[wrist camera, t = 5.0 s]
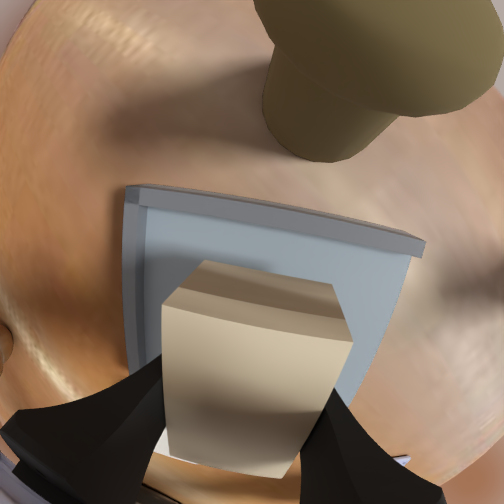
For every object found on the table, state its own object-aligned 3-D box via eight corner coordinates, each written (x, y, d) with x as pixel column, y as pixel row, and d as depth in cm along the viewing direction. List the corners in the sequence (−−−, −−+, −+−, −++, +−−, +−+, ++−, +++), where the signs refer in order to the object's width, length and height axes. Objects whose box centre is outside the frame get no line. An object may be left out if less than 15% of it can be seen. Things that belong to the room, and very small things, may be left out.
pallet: (285, 417, 12) (281, 478, 9) (193, 399, 13) (169, 455, 9) (332, 284, 10) (353, 342, 6) (204, 259, 10) (161, 304, 7)
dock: (336, 407, 16) (341, 432, 14) (146, 371, 17) (132, 392, 15) (404, 231, 13) (425, 241, 11) (149, 183, 14) (125, 185, 11)
